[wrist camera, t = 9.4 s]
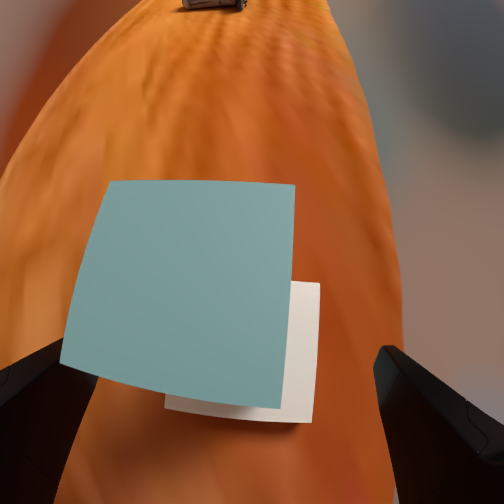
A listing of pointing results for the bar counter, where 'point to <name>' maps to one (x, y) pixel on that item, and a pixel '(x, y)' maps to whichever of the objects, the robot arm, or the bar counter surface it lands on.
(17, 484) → the robot arm
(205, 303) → the teal column
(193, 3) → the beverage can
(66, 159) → the bar counter surface
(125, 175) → the bar counter surface
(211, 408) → the base brick
